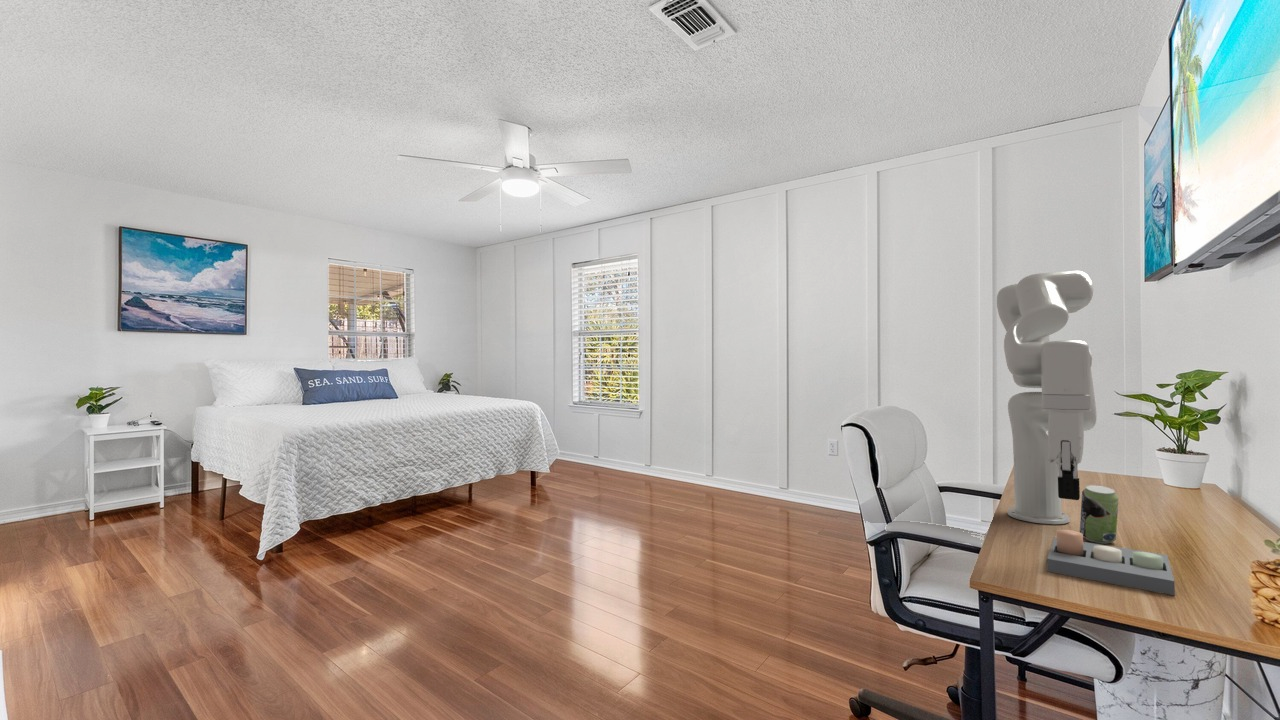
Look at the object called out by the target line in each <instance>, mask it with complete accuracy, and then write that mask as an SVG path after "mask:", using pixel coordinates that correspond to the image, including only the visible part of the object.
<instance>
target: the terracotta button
mask: <svg viewBox="0 0 1280 720" xmlns="http://www.w3.org/2000/svg"><path fill="white" fill-rule="evenodd" d="M1056 538H1057V551H1059V552H1061V553H1064V554H1069V555H1083V542H1084V536H1083V534H1082V533H1080V531H1076V530H1072V529H1056Z"/></svg>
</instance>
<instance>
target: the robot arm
mask: <svg viewBox="0 0 1280 720" xmlns="http://www.w3.org/2000/svg"><path fill="white" fill-rule="evenodd" d="M1093 285H1094V284H1093V281H1092V279H1091V278H1090V276H1089V275H1088V274H1087V273H1086V272H1084V271H1081V270H1067V271H1064V270H1063V271H1054V272H1053V271H1052V272H1041V273H1033V274H1030V275H1027V276H1024V277H1023V278H1022V279H1021V280H1019V281H1018V283H1014V284H1009V285H1006V286H1004V287H1002V288H1001V289H1000V290H998V293H997V296H996V308H997V313H998V316H999V319H1000V322H1001V323H1002V324H1001V325H1003V328H1004V329H1005V335H1004V339H1003V349H1004V356H1005V363H1006V366H1007V369H1008V371H1009V373H1010V374H1012V379H1013V381H1014V383H1015V384H1016V385H1017V386H1018V387H1021V388H1026V389H1041V391H1024V392H1019V393H1016V394H1014V395H1012V396H1011V397H1010V398H1009V400H1008V402H1007V411H1008V412H1007V413H1008V417H1009V422H1010V428H1011V435H1012V451H1013V453H1012V455H1013V484H1014V485H1013V491H1014V506H1013V507H1008V509H1007V515H1008V516H1009V517H1011V518H1014V519H1016V520H1019V521H1024V522H1030V523H1035V524H1042V525H1044V524H1045V525H1064V524H1068V523H1069V522H1071V520H1070V519H1071V517H1070V515H1069V514H1067V513H1064V512H1062V511H1063V510H1062V499H1063V500H1070V501H1071V500H1072V501H1080V497H1081V495H1080V493H1081V492H1080V477H1079V476H1078V474H1079V471H1078V470H1079V469H1078V465H1080V464H1081V462H1082V459H1083V455H1084V454H1083V453H1084V452H1083V451H1084V437H1085V434H1084V433H1085V432H1087V431H1089V430H1092V429H1093V428H1094V427H1095V425H1096V424H1097V404H1096V399H1095V389H1094V382H1093V374H1092V369H1091V368H1092V363H1093V362H1092V361H1093V357H1092V356H1093V355H1092V351H1091V349H1090V347H1089V344H1088V343H1087V342H1086V341H1083V340H1074V339H1073V340H1071V339H1070V340H1053V341H1051V340H1050V336H1051V335H1053V334H1056V333H1057V332H1059V331H1060V330H1062V329H1063V328H1064V327H1065V326H1066V325H1067V323H1068V321H1069V317H1070V316H1069V314H1074V313H1077V312H1078V311H1080V310H1082V309H1084V308H1085V307H1087V306H1088V305H1089V304H1090V303H1091V301H1092V298H1093V295H1094V286H1093ZM1047 433H1048V434H1047Z"/></svg>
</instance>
